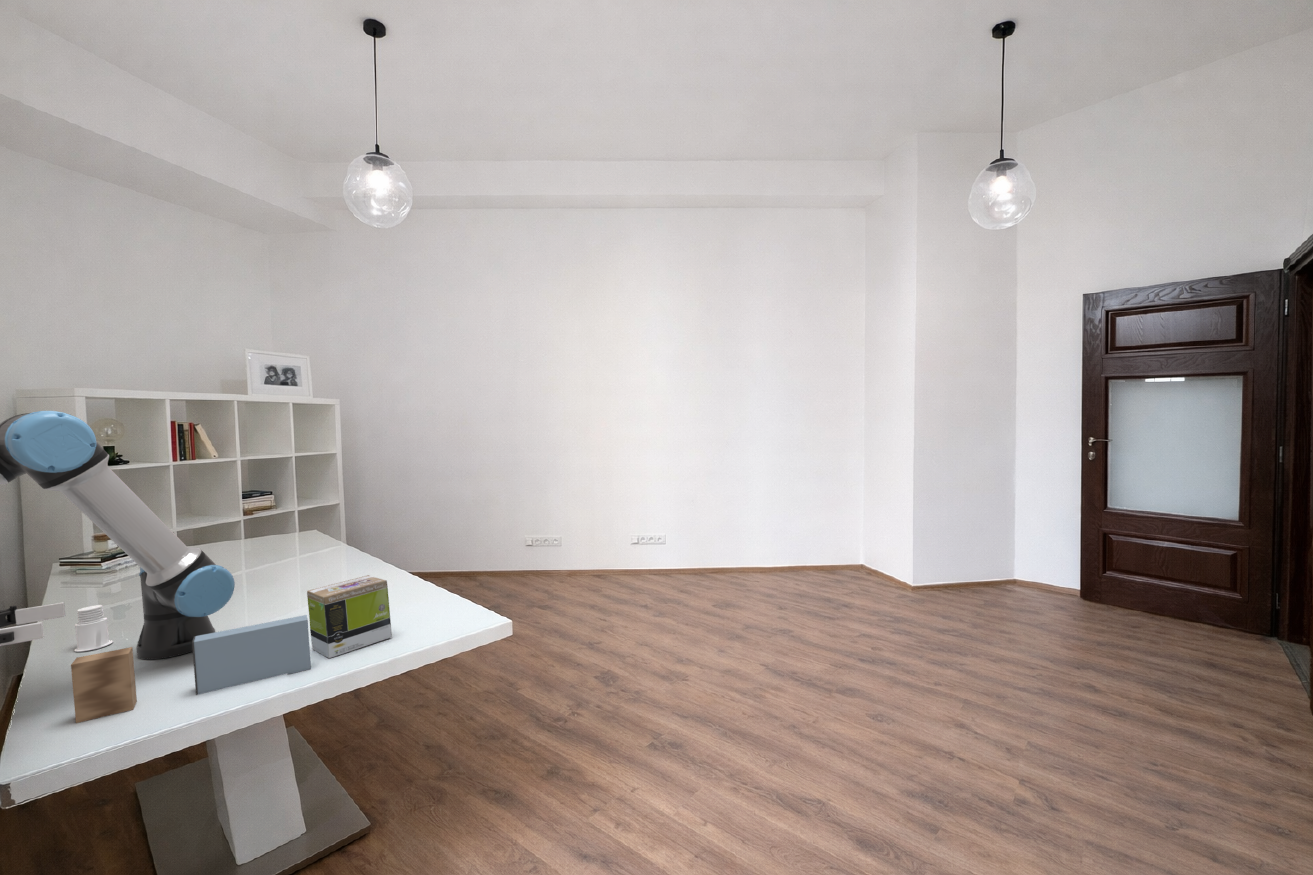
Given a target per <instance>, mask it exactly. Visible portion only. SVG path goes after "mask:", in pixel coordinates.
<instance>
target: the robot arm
mask: <svg viewBox="0 0 1313 875" xmlns="http://www.w3.org/2000/svg"><path fill="white" fill-rule="evenodd" d="M109 459H110V454H109V453H108V452H107V451H106V450H105V449H104V448H103V447H102V446H101V445H100V444H99V443H98V442H97V438H96V435H95V432H94V430H93V429H92V428H91V427H90V425H88V423H86V422H85V421H84V420H82V419H81V418H79V417H77V416H74V415H71V414H69V413H66V412H62V411H56V410H39V411H33V412H28V413H20V414H18V415H13V416H11V417H9V418H6V419H5V420H4V421H2V422H0V485H7V484H9V483H10V482H13V481H14V480H15V479H17V478H19V477H21V476H23V475H26V474H27V475H28V477H30V478H31V479H32V480H33V481H34V482H35V483H36V484H37V485H39V487H40V488H42V489H43V490H44V491H52V492H55V491H56V492H60V493H61V494H62V495H63V496H65V498H66V499H68V500H69V501H70V502H71V504H73V505H74V507H75V508H77V510H79V511H80V512H82V514H83V515H84V516H85V517H87V518H88V519H89V520H90V521H91V522H92V523H93V524H94V525H95V526H96V527H97V528H98V529H99V530H101V531H102V532H103V534H105V535H106V536H107V537H108V538H109V539H110V540H111V541H112V542H113V543H114V544H116V546H117V547H119V548H120V549H121V550H122V552H124V553H125V554H126V555H127V556H128V557H129V558H131V560H133V562H135V564H137V565H138V566H139V573H138V576H139V577H140V588H141V601H142V610H143V612H142V613H143V625H142V628H141V631H140V634H139V638H138V641H137V645H136V656H137V658H138V659H141V660H159V659H167V658H172V657H176V656H181V655H186V654H188V653H189V654H190V653H193V649H192V641H193V638H194V636H199V635H205V634H210V633H215V632H216V629H215V627H213V624H212V621H211V620H210V618H209V616H211V615H213V614H215V613H217V612H219V611H220V610H221V609H222V608H224V607H225V606H226V605H227V604H228V603H229V601H230V600H231V598H232V597H233V594H234V591H235V588H236V586H235V584H236V582H235V578H234V576H233V574H232V572H230V570H228V569H227V568H225V567H223V566H222V565H218V564H216V562H214V561H213V560H212V559H211V558H210V557H209V556H208V555H207V554H206V553H205V552H204V551H203V550H202V549H201V548H200V547H198V546H197V547H196V546H187V544H185V543H184V542H183V540H181V539H180V537H178V536H177V535H176V533H174V532H173V530H171V528H170V527H169V526H168V525H167V524H165V522H163V520H161V519H160V517H159V516H157V514H156V513H155V512H153V510H152V509H150V507H149V506H147V504H146V503H145V502H144V501H143V500H142V499H141V498H140V497H139V496H138V495H137V494H136V493H135V492H134V491H133V490H132V489H131V488H130V487H129V486H128V485H127V484H126V483H125V482H124V481H123V480H122V479H121V477H119V476H118V475H117V474H116V472H114V471H113V470H112V469H111V468H110V466H109V465H108V463H109ZM65 608H66V607H65V601H64V602H63V601H62V602H56V603H51V604H44V605H38V606H31V607H27V608H26V607H24V608H18V605H11V606H9V608H6V609H1V610H0V647H1V646H7V645H13V644H19V643H25V642H30V641H34V640H35V641H36V640H40V639H44V638H45V634H44V625H43V624H44V622H43V621H48V620H54V619H60V618H65V617H66V609H65ZM10 625H11V626H10ZM12 625H16V626H12ZM7 626H10V627H7ZM4 627H6V628H4Z"/></svg>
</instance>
